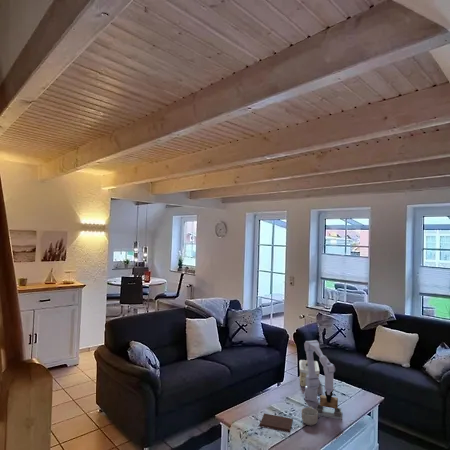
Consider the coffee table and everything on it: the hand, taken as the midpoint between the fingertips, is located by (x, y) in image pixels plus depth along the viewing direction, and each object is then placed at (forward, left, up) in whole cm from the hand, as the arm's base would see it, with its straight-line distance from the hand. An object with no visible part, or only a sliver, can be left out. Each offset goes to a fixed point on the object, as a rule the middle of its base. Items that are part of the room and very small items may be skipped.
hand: (328, 400), depth 247 cm
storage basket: (-19, +47, -9) cm, 51 cm away
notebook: (-32, -27, -9) cm, 43 cm away
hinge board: (0, -1, -9) cm, 9 cm away
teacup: (-11, -17, -9) cm, 22 cm away
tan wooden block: (0, 0, -4) cm, 4 cm away
